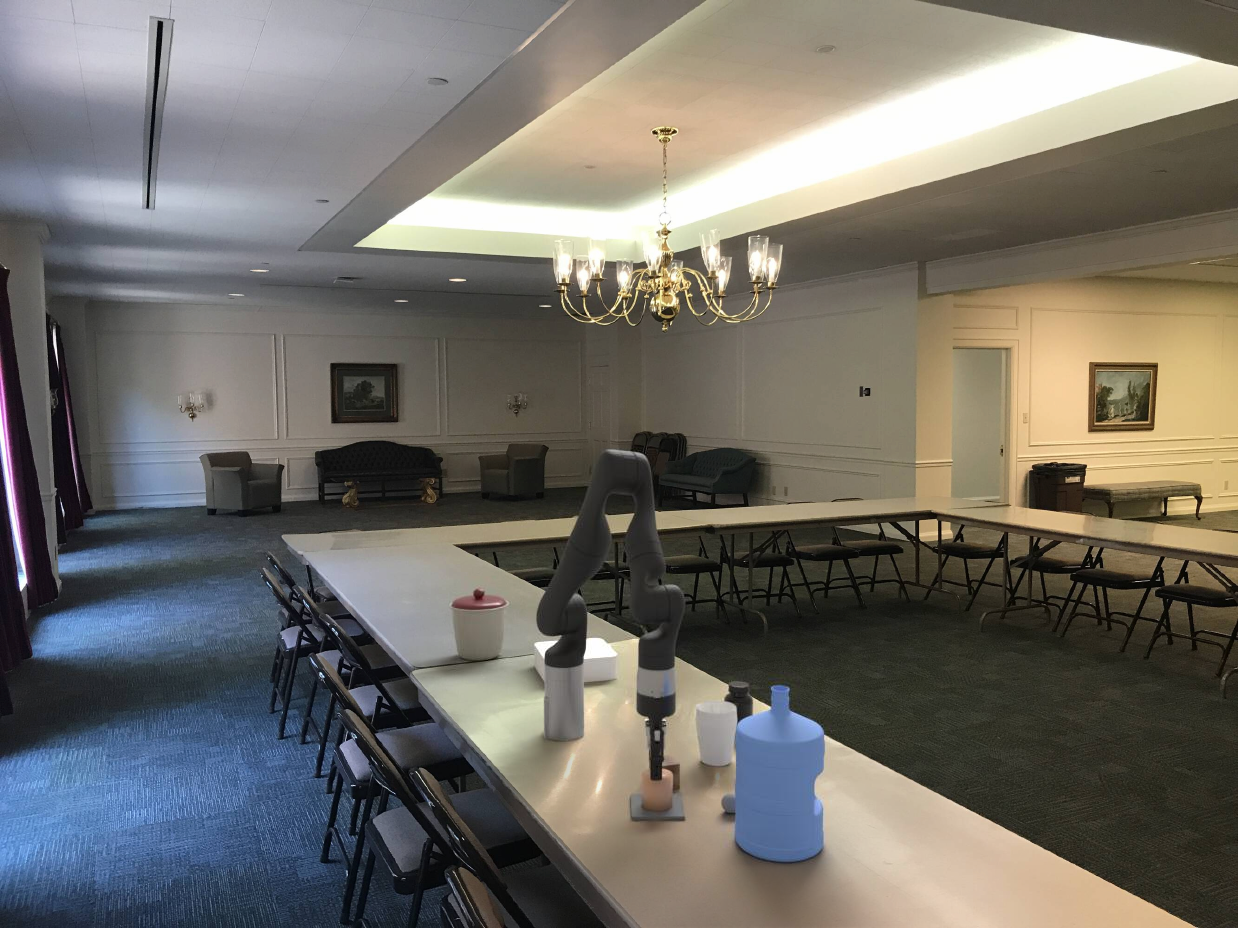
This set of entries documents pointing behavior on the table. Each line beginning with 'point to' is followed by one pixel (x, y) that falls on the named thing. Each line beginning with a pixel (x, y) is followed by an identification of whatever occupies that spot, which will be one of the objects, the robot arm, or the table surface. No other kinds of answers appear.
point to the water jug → (779, 783)
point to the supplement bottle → (740, 699)
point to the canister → (479, 625)
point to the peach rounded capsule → (657, 791)
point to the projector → (585, 660)
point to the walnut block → (672, 769)
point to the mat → (645, 814)
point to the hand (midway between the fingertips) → (655, 770)
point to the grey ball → (729, 802)
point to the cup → (716, 731)
